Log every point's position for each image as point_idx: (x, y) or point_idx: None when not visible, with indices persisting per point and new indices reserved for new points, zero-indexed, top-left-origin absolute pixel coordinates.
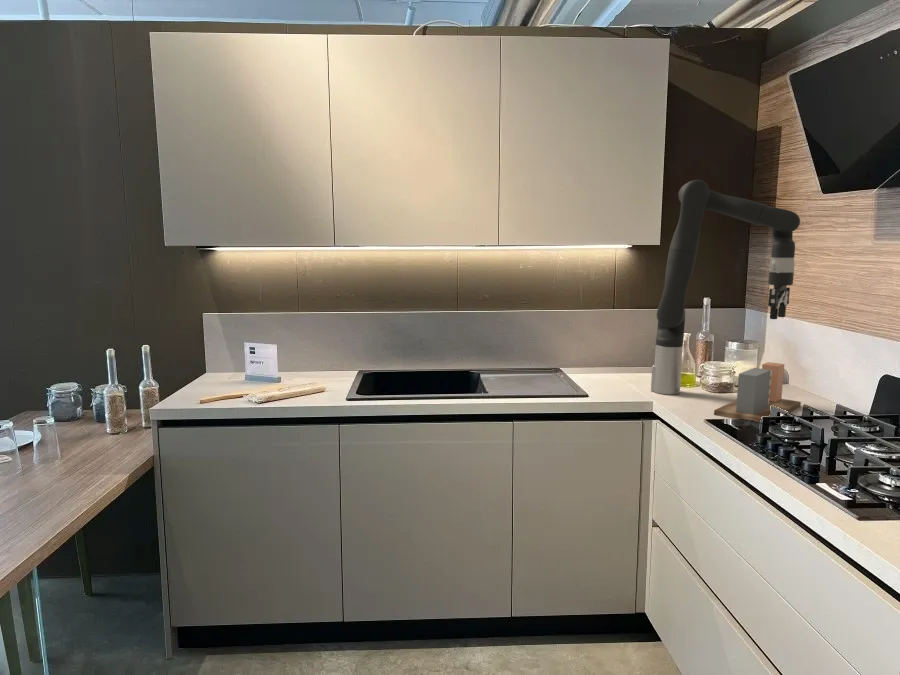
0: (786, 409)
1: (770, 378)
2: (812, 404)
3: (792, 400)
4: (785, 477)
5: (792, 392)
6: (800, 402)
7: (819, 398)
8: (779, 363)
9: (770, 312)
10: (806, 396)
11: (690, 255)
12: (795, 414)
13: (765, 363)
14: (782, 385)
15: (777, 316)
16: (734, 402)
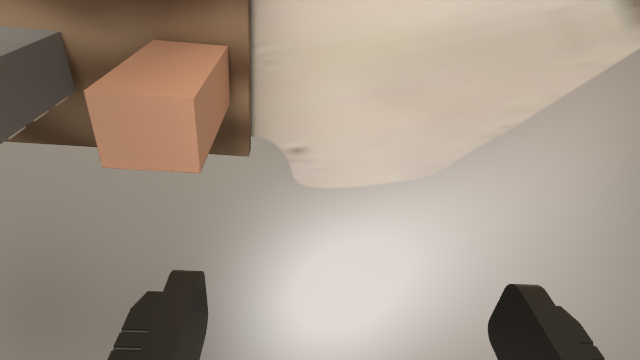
0: (93, 144)
1: (8, 138)
2: (313, 168)
3: (247, 133)
4: None
5: (478, 84)
6: (245, 155)
7: (421, 168)
8: (198, 152)
9: (146, 345)
10: (431, 134)
11: None
12: None
13: (130, 97)
14: (219, 124)
15: (198, 353)
16: None
